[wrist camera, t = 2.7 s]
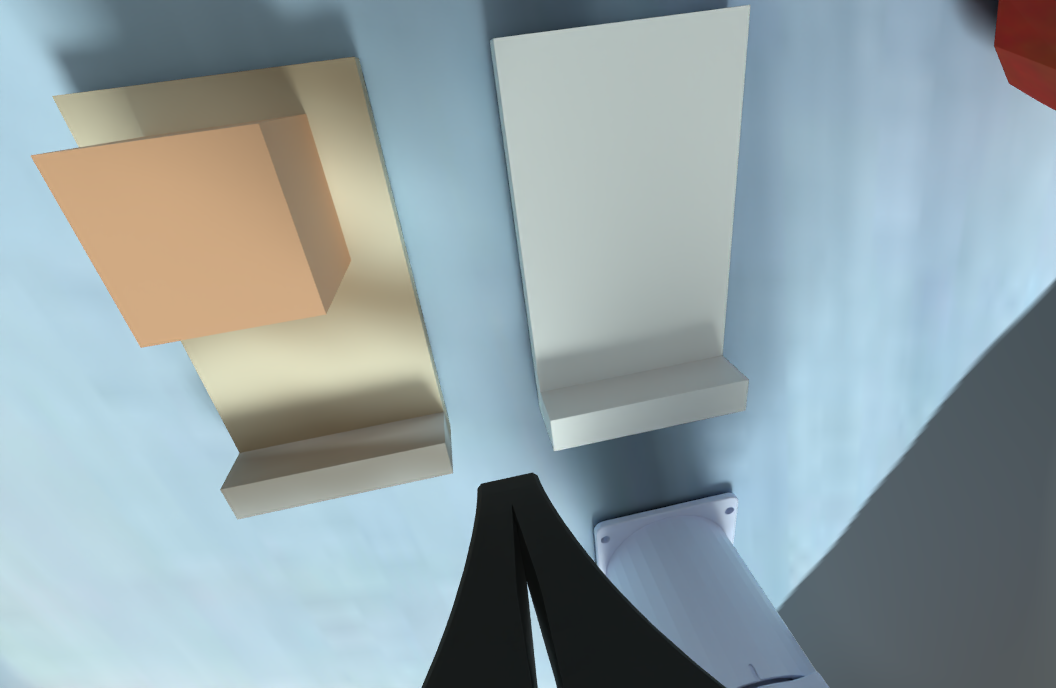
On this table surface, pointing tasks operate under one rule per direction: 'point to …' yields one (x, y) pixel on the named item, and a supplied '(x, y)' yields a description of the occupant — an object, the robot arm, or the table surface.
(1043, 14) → the apple
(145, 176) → the block
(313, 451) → the beige lipped tray
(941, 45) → the table surface
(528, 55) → the grey strip
